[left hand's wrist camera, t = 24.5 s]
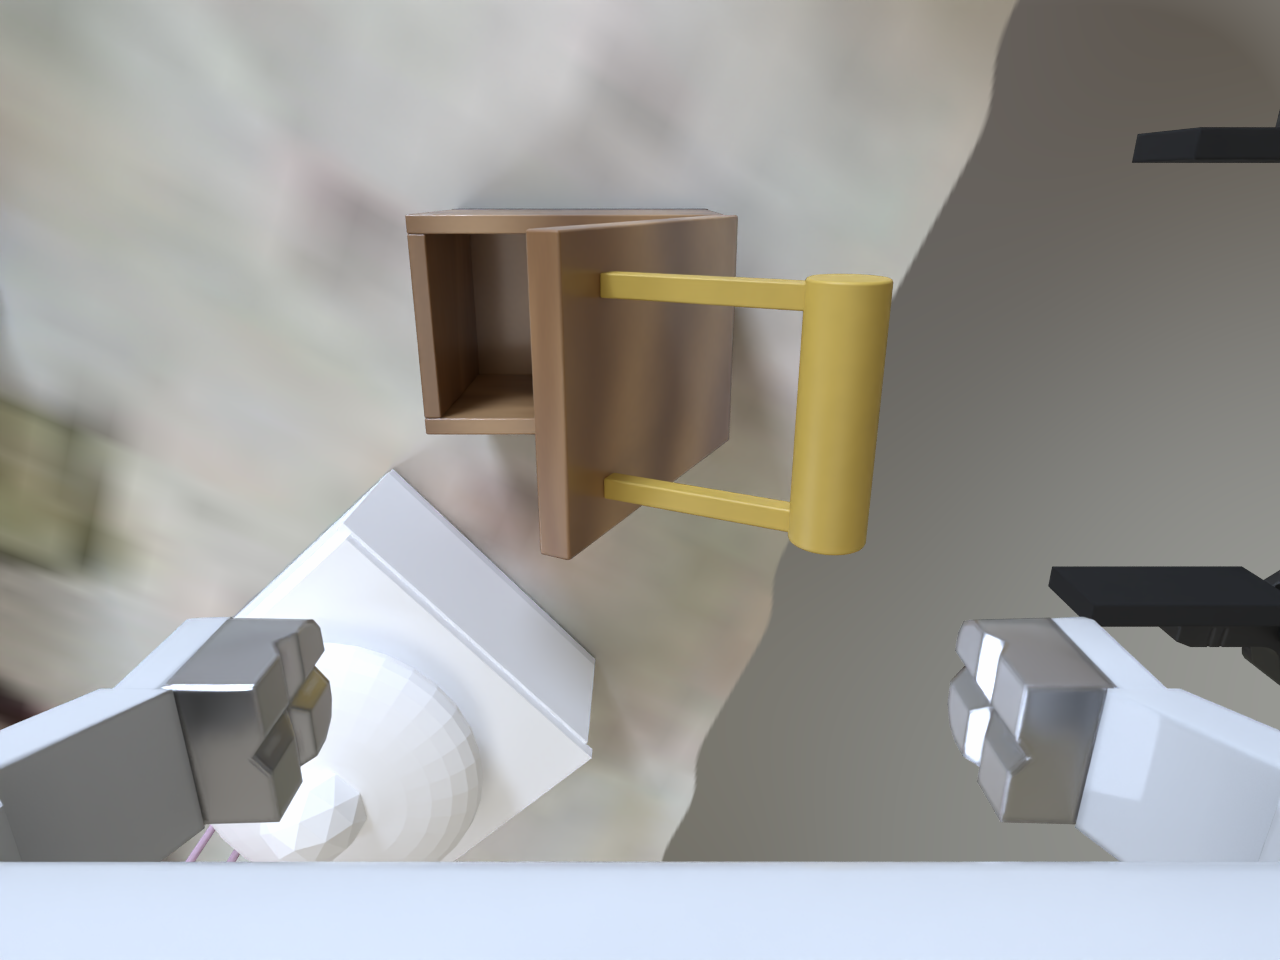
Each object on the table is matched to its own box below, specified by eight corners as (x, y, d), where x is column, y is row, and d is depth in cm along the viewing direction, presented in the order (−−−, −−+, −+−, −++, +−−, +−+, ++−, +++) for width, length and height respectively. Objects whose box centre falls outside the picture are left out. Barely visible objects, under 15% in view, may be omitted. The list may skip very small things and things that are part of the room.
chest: (469, 384, 45) (425, 435, 36) (456, 209, 42) (404, 214, 33) (701, 384, 45) (717, 435, 36) (706, 208, 42) (724, 214, 33)
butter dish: (391, 467, 47) (275, 599, 32) (601, 664, 51) (585, 859, 36) (205, 642, 51) (24, 831, 36) (415, 810, 55) (332, 1040, 40)
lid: (539, 554, 24) (840, 622, 20) (524, 229, 21) (878, 237, 17) (706, 437, 36) (919, 466, 32) (713, 214, 32) (951, 218, 29)
